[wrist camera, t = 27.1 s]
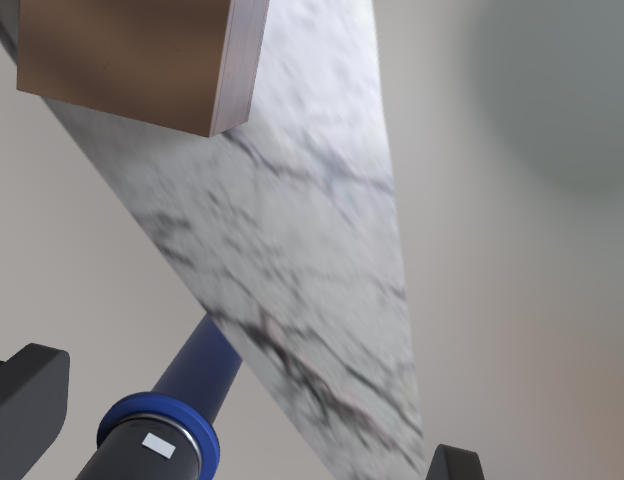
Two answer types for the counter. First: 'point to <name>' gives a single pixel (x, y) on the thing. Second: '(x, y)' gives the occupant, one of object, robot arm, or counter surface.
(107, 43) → the cabinet
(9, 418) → the robot arm
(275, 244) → the counter surface
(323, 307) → the counter surface
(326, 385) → the counter surface
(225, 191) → the counter surface
